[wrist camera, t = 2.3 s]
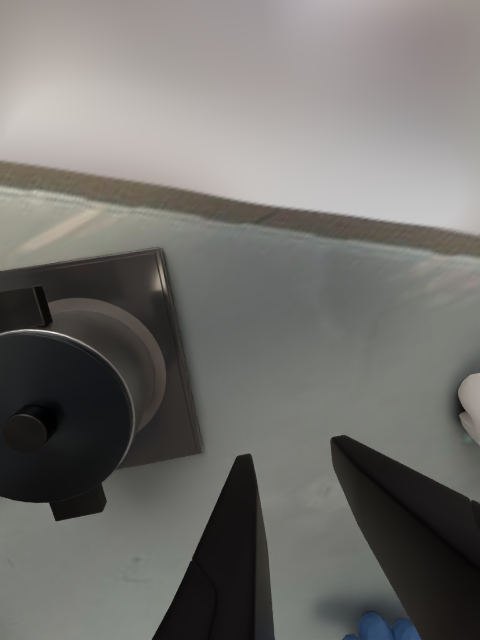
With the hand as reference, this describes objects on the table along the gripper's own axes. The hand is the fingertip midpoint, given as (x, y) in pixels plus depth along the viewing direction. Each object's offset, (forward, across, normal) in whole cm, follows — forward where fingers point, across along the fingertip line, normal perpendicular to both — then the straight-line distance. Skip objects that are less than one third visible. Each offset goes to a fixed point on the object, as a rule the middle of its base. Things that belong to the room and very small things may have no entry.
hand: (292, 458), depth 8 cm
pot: (+11, +10, 0) cm, 15 cm away
